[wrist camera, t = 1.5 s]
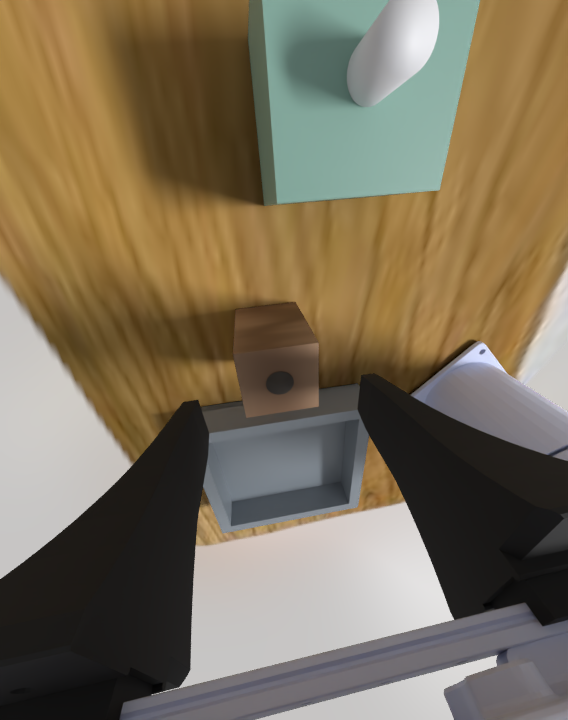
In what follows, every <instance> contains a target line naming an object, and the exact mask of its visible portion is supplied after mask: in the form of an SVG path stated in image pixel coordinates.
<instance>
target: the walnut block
mask: <svg viewBox="0 0 568 720" xmlns="http://www.w3.org/2000/svg"><path fill="white" fill-rule="evenodd" d="M233 357H234V362H235V367H236V372H237V376H238V381H239V386H240V391H241V395H242V400H243V405H244V409H245V414H246V418H249V417H255V416H262V415H268V414H275V413H281V412H287V411H294V410H300V409H307V408H313V407H319V342H318V341H317V339H316V337H315V335H314V334H313V332H312V330H311V328H310V327H309V325H308V323H307V321H306V320H305V318H304V316H303V314H302V313H301V311H300V309H299V307H298V306H297V304H296V302H291V303H283V304H275V305H266V306H258V307H250V308H241V309H236V312H235V328H234V344H233Z"/></svg>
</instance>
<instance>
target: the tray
mask: <svg viewBox="0 0 568 720" xmlns="http://www.w3.org/2000/svg"><path fill="white" fill-rule="evenodd" d="M359 390H360V386H359V385H358V383H357V384H350V385H344V386H337V387H331V388H324V389H319V407H313V408H307V409H300V410H294V411H287V412H281V413H275V414H268V415H262V416H255V417H249V418H246V414H245V409H244V405H243V401H238V402H231V403H224V404H218V405H211V406H204V407H201V410H202V413H203V416H204V419H205V422H206V425H207V428H208V431H209V451H208V460H207V466H206V472H205V478H204V484H203V488H204V490H205V492H206V495H207V497H208V499H209V502H210V504H211V507H212V509H213V511H214V514H215V516H216V518H217V521H218V523H219V525H220V528H221V530H222V533H227V532H232V531H237V530H243V529H248V528H253V527H258V526H263V525H268V524H273V523H279V522H284V521H289V520H294V519H299V518H304V517H309V516H315V515H320V514H325V513H330V512H335V511H340V510H345V509H351V508H356V507H358V502H359V496H360V489H361V483H362V477H363V470H364V464H365V458H366V451H367V445H368V439H369V434H368V432H367V430H366V429H365V426H364V424H363V422H362V419H361V417H360V415H359V412H358V410H357V408H358V399H359Z"/></svg>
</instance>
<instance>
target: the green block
mask: <svg viewBox="0 0 568 720" xmlns="http://www.w3.org/2000/svg"><path fill="white" fill-rule="evenodd" d="M479 3H480V0H249V21H248V44H249V54H250V65H251V75H252V85H253V96H254V106H255V116H256V126H257V137H258V147H259V157H260V168H261V178H262V188H263V198H264V206H268V205H280V204H292V203H304V202H316V201H327V200H339V199H351V198H363V197H374V196H384V195H394V194H405V193H415V192H425V191H435V190H440V185H441V181H442V176H443V171H444V167H445V162H446V157H447V153H448V148H449V143H450V139H451V134H452V129H453V124H454V120H455V115H456V110H457V106H458V101H459V96H460V92H461V87H462V82H463V78H464V73H465V68H466V64H467V59H468V54H469V49H470V45H471V40H472V35H473V31H474V26H475V21H476V17H477V12H478V7H479Z"/></svg>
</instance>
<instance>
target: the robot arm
mask: <svg viewBox="0 0 568 720" xmlns="http://www.w3.org/2000/svg"><path fill="white" fill-rule="evenodd" d="M357 410H358V412H359V415H360V417H361V419H362V422H363V424H364V426H365V429H366V430H367V432H368V434H369V436H370V437H371V439H372V441H373V443H374V444H375V446H376V448H377V449H378V451H379V453H380V454H381V456H382V458H383V459H384V461H385V463H386V464H387V466H388V468H389V470H390V471H391V473H392V475H393V477H394V478H395V480H396V482H397V484H398V486H399V488H400V490H401V493H402V495H403V497H404V499H405V501H406V503H407V505H408V508H409V510H410V512H411V514H412V517H413V519H414V521H415V523H416V526H417V528H418V530H419V533H420V535H421V537H422V540H423V542H424V544H425V547H426V549H427V552H428V554H429V557H430V559H431V562H432V564H433V567H434V569H435V572H436V575H437V577H438V580H439V582H440V585H441V587H442V590H443V593H444V595H445V598H446V601H447V604H448V606H449V609H450V612H451V614H452V616H453V618H454V620H452V621H449V622H445V623H441V624H436V625H433V626H428V627H424V628H421V629H416V630H412V631H409V632H404V633H401V634H396V635H392V636H388V637H384V638H381V639H377V640H372V641H368V642H364V643H360V644H356V645H352V646H348V647H344V648H340V649H336V650H332V651H328V652H324V653H320V654H316V655H312V656H308V657H304V658H300V659H296V660H292V661H288V662H284V663H280V664H276V665H272V666H268V667H264V668H260V669H256V670H252V671H248V672H244V673H240V674H236V675H232V676H228V677H224V678H220V679H216V680H212V681H208V682H203V683H200V684H195V685H192V686H187V687H183V688H179V689H175V690H172V691H167V692H163V691H166V690H170V689H174V688H177V687H180V685H181V684H182V682H183V681H184V680H185V678H186V677H187V675H188V673H189V671H190V658H191V618H192V617H191V616H192V595H193V574H194V560H195V559H194V558H195V545H196V532H197V521H198V513H199V507H200V501H201V495H202V489H203V484H204V478H205V472H206V466H207V460H208V451H209V431H208V428H207V425H206V422H205V419H204V416H203V413H202V410H201V407H200V404H199V401H198V400H194V401H187V402H183V403H182V404H181V406H180V407H179V408H178V410H177V411H176V412H175V414H174V415H173V416H172V418H171V419H170V420H169V422H168V423H167V424H166V426H165V427H164V428H163V429H162V431H161V432H160V433H159V434H158V436H157V437H156V438H155V440H154V441H153V442H152V443H151V445H150V446H149V447H148V448H147V449H146V450H145V452H144V453H143V454H142V455H141V456H140V457H139V459H138V460H137V461H136V462H135V463H134V464H133V465H132V467H131V468H130V469H129V470H128V471H127V472H126V473H125V474H124V475H123V476H122V477H121V478H120V479H119V480H118V481H117V482H116V483H115V484H114V485H113V486H112V487H111V488H110V489H109V490H108V491H107V492H106V493H105V494H104V495H103V496H102V497H100V498H99V499H98V500H97V501H96V502H95V503H94V504H93V505H92V506H91V507H89V508H88V509H87V510H86V511H85V512H84V513H83V514H82V515H81V516H79V517H78V518H77V519H76V520H75V521H74V522H73V523H71V524H70V525H69V526H68V527H67V528H65V529H64V530H63V531H62V532H61V533H59V534H58V535H57V536H56V537H55V538H54V539H52V540H51V541H50V542H48V543H47V544H46V545H45V546H44V547H42V548H41V549H40V550H38V551H37V552H36V553H35V554H33V555H32V556H31V557H29V558H28V559H27V560H26V561H24V562H23V563H22V564H20V565H19V566H18V567H16V568H15V569H14V570H12V571H11V572H10V573H8V574H7V575H6V576H4V577H3V578H1V579H0V720H255V719H259V718H262V717H266V716H270V715H274V714H277V713H281V712H285V711H289V710H292V709H296V708H300V707H303V706H307V705H311V704H315V703H319V702H322V701H326V700H330V699H334V698H337V697H341V696H345V695H348V694H352V693H356V692H359V691H364V690H367V689H371V688H375V687H379V686H382V685H386V684H390V683H393V682H397V681H401V680H405V679H408V678H412V677H416V676H419V675H424V674H427V673H431V672H435V671H438V670H442V669H446V668H450V667H453V666H457V665H461V664H465V663H468V662H472V661H476V660H480V659H483V658H487V657H490V656H495V655H498V656H497V660H496V662H497V667H494V668H491V669H488V670H485V671H482V672H479V673H475V674H473V675H470V676H467V677H466V678H465V679H464V680H463V681H461V682H459V683H457V684H455V685H453V686H450V687H448V688H446V689H444V696H445V698H446V700H447V703H448V705H449V707H450V710H451V712H452V715H453V717H454V720H568V411H566V410H565V409H563V408H561V407H560V406H558V405H557V404H555V403H553V402H552V401H550V400H549V399H547V398H545V397H544V396H542V395H540V394H539V393H537V392H536V391H534V390H532V389H531V388H529V387H528V386H526V385H524V384H523V383H521V382H520V381H518V380H516V379H515V378H513V377H511V376H510V375H508V374H507V373H506V371H505V370H504V369H503V367H502V366H501V365H500V363H499V362H498V361H497V359H496V358H495V357H494V355H493V354H492V353H491V351H490V350H489V349H488V347H487V346H486V345H485V344H484V343H482V342H480V341H478V342H476V343H474V344H473V345H472V346H470V347H469V348H468V349H467V350H465V351H464V352H463V353H462V354H460V355H459V356H458V357H457V358H455V359H454V360H453V361H452V362H450V363H449V364H448V365H447V366H446V367H444V368H443V369H442V370H441V371H439V372H438V373H437V374H436V375H434V376H433V377H432V378H431V379H429V380H428V381H427V382H426V383H424V384H423V385H422V386H421V387H420V388H418V389H417V390H416V391H415V392H413V393H412V394H411V395H409V394H408V393H406V392H404V391H403V390H401V389H399V388H398V387H396V386H395V385H393V384H391V383H390V382H388V381H386V380H385V379H383V378H381V377H380V376H378V375H376V374H374V373H373V374H367V375H361V382H360V390H359V399H358V408H357ZM159 692H163V693H159ZM155 693H159V694H156V695H151V694H155Z"/></svg>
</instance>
